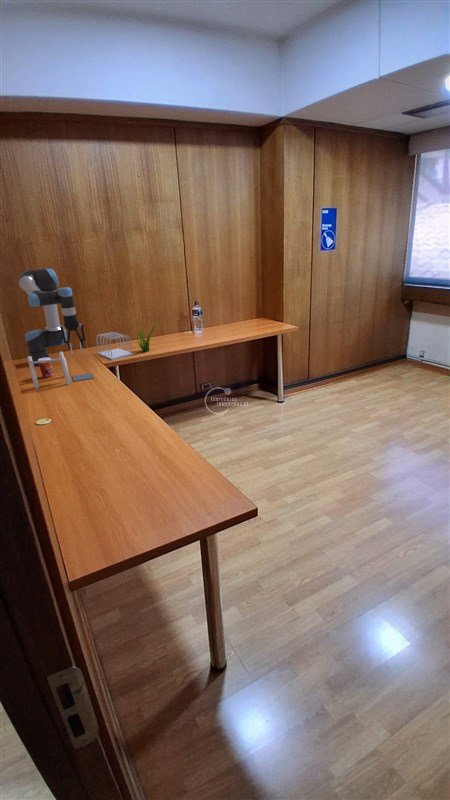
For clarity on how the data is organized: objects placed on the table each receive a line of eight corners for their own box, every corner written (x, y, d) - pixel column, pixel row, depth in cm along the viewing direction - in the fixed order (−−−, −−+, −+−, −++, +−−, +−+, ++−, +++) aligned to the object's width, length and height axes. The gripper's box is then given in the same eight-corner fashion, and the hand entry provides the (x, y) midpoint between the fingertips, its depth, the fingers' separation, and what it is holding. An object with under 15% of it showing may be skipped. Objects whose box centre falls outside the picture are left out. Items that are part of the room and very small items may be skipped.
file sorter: (97, 355, 302) (94, 335, 297) (119, 350, 312) (115, 331, 307) (111, 360, 284) (108, 339, 278) (133, 355, 294) (130, 335, 288)
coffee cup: (50, 383, 251) (45, 360, 246) (39, 383, 253) (34, 360, 248) (59, 379, 258) (53, 357, 253) (48, 379, 261) (43, 357, 255)
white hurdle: (33, 381, 247) (27, 356, 242) (69, 375, 255) (64, 351, 249) (31, 390, 230) (25, 364, 224) (70, 384, 237) (65, 358, 231)
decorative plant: (155, 320, 285) (135, 315, 282) (148, 355, 302) (129, 350, 299) (158, 310, 300) (139, 305, 297) (151, 344, 316) (132, 339, 313)
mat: (72, 376, 251) (72, 375, 251) (92, 373, 255) (92, 372, 255) (73, 381, 241) (73, 380, 241) (94, 378, 245) (93, 377, 245)
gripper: (53, 317, 228) (61, 356, 236) (85, 313, 234) (92, 352, 242) (53, 315, 234) (61, 354, 243) (85, 312, 240) (91, 349, 248)
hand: (77, 353), depth 242 cm, fingers open, 5 cm apart
